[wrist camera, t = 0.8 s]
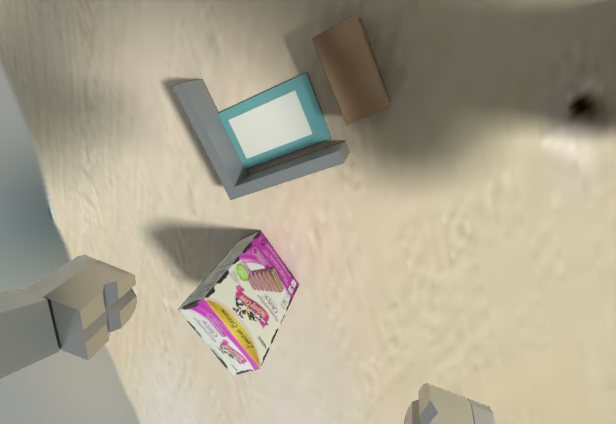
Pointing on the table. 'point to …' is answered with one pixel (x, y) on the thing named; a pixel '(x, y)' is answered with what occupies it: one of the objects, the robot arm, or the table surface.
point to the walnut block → (352, 69)
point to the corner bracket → (261, 134)
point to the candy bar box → (242, 304)
